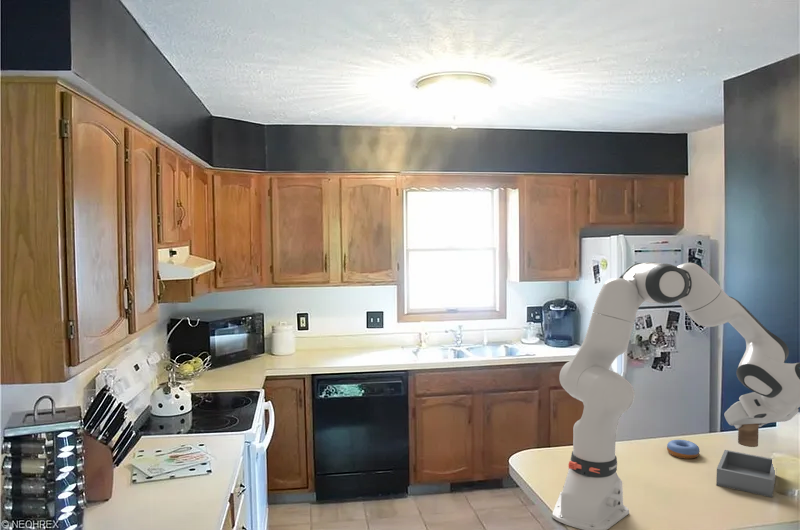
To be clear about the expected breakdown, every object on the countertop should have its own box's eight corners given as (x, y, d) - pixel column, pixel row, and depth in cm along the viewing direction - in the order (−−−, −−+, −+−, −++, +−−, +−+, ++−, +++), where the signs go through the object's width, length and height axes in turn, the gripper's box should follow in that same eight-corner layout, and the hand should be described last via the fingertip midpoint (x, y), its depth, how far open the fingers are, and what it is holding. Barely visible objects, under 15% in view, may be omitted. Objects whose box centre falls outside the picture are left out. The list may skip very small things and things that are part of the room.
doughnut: (706, 459, 190) (704, 445, 191) (675, 461, 190) (674, 447, 191) (691, 450, 200) (689, 437, 200) (662, 452, 200) (661, 439, 201)
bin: (772, 497, 163) (772, 480, 163) (716, 485, 172) (716, 468, 171) (776, 475, 178) (776, 459, 178) (724, 464, 186) (724, 449, 186)
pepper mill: (757, 448, 170) (758, 411, 170) (737, 444, 174) (737, 408, 173) (758, 442, 175) (759, 406, 174) (739, 439, 178) (739, 403, 177)
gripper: (798, 391, 168) (771, 413, 178) (736, 395, 165) (711, 418, 175) (811, 411, 164) (782, 433, 174) (747, 415, 161) (721, 437, 171)
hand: (746, 425), depth 174 cm, fingers closed on pepper mill, 5 cm apart
